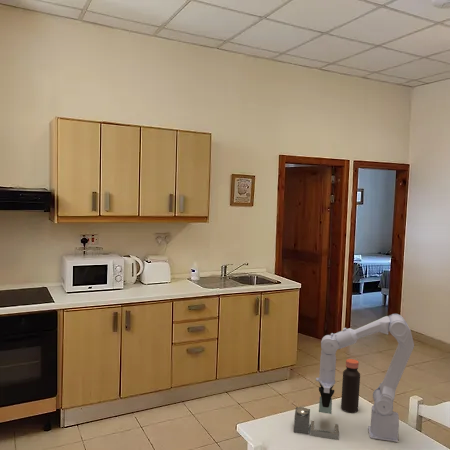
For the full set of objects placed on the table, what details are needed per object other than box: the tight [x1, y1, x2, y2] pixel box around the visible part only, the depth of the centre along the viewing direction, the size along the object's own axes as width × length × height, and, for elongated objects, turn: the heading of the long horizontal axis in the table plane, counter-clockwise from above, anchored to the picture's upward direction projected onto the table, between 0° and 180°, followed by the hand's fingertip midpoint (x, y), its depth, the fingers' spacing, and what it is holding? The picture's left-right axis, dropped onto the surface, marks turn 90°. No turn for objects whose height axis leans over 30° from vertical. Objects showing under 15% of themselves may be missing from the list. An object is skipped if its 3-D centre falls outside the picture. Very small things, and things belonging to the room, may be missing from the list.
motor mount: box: [293, 406, 340, 441], centre depth 163 cm, size 16×8×7 cm, turn 78°
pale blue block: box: [318, 396, 333, 415], centre depth 167 cm, size 4×4×5 cm
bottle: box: [340, 358, 361, 414], centre depth 181 cm, size 7×7×20 cm
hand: (325, 403), depth 167 cm, fingers closed on pale blue block, 4 cm apart
